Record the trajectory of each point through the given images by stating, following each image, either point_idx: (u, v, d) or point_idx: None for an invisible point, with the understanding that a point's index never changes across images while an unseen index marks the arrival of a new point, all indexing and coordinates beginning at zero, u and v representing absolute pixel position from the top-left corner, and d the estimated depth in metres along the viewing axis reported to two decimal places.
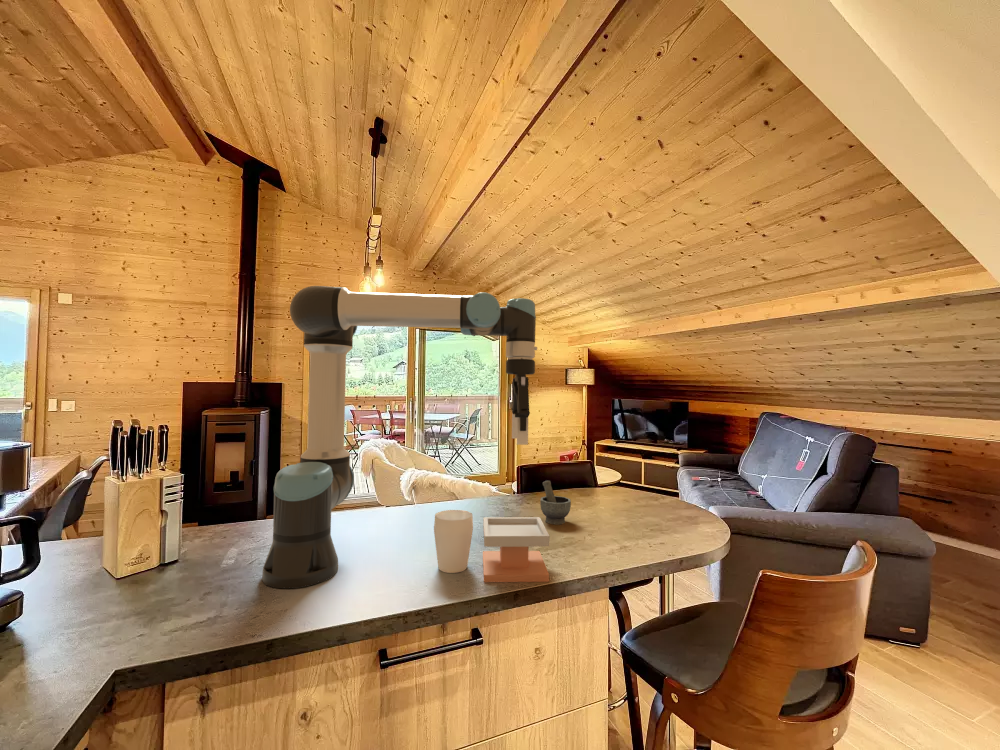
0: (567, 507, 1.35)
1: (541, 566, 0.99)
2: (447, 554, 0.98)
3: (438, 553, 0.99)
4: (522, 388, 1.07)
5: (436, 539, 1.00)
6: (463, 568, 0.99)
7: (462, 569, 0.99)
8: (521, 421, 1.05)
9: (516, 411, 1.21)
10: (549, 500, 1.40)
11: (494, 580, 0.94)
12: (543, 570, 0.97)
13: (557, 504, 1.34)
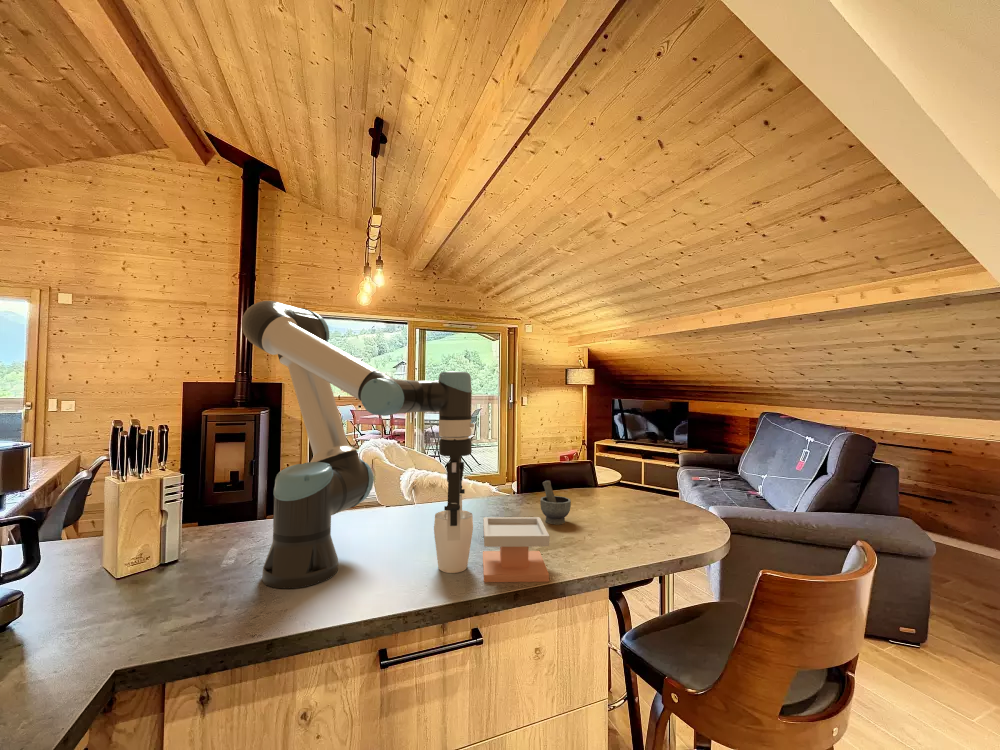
0: (567, 507, 1.35)
1: (541, 566, 0.99)
2: (447, 554, 0.98)
3: (438, 553, 0.99)
4: (452, 476, 0.95)
5: (436, 539, 1.00)
6: (463, 568, 0.99)
7: (462, 569, 0.99)
8: (451, 515, 0.94)
9: None
10: (549, 500, 1.40)
11: (494, 580, 0.94)
12: (543, 570, 0.97)
13: (557, 504, 1.34)
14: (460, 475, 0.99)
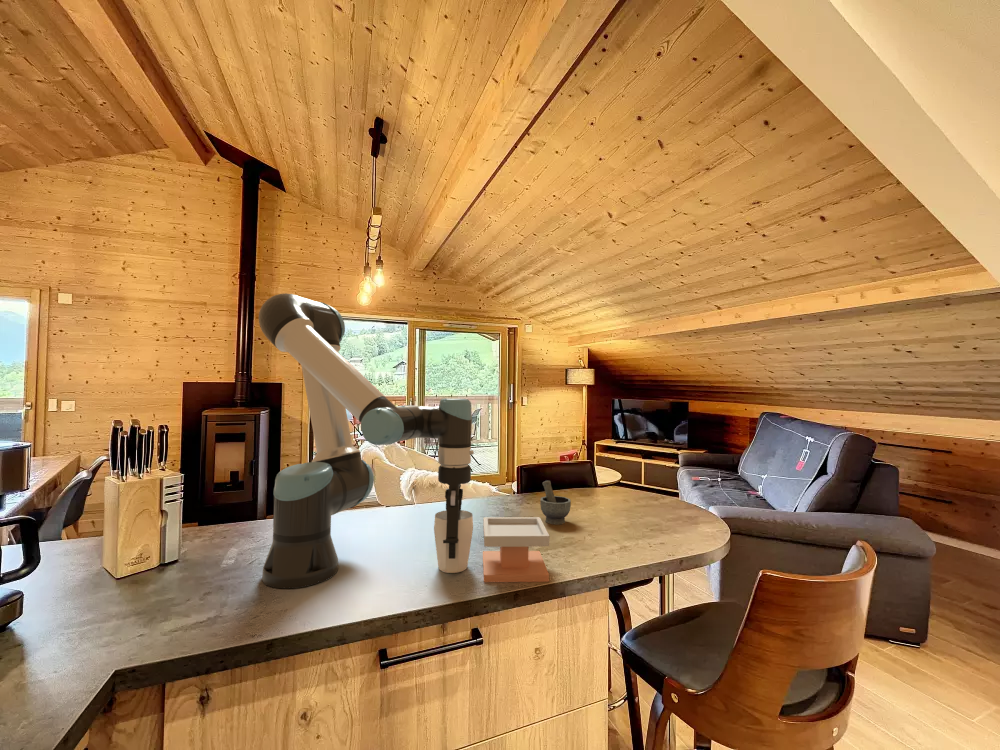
0: (567, 507, 1.35)
1: (541, 566, 0.99)
2: None
3: (438, 553, 0.99)
4: (451, 510, 0.95)
5: (436, 539, 1.00)
6: (463, 568, 0.99)
7: (462, 569, 0.99)
8: (449, 548, 0.96)
9: None
10: (549, 500, 1.40)
11: (494, 580, 0.94)
12: (543, 570, 0.97)
13: (557, 504, 1.34)
14: (459, 505, 0.99)
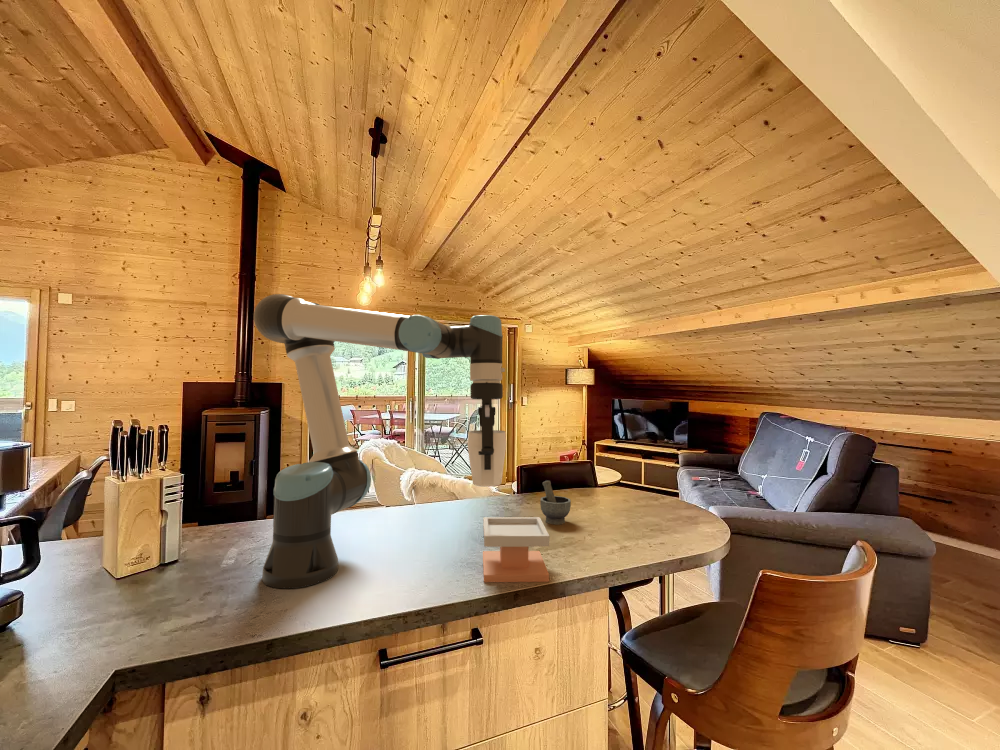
0: (567, 507, 1.35)
1: (541, 566, 0.99)
2: None
3: (473, 468, 1.00)
4: (486, 421, 0.96)
5: (470, 454, 1.00)
6: (498, 482, 1.00)
7: (497, 483, 1.00)
8: (485, 459, 0.96)
9: None
10: (549, 500, 1.40)
11: (494, 580, 0.94)
12: (543, 570, 0.97)
13: (557, 504, 1.34)
14: (492, 419, 1.00)
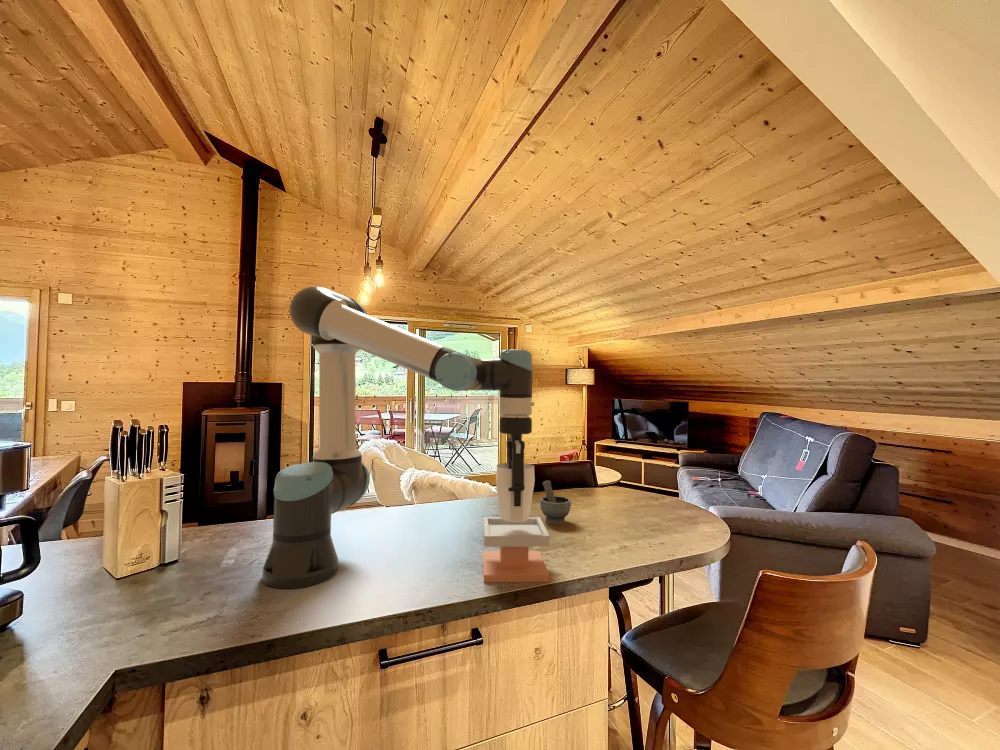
0: (567, 507, 1.35)
1: (541, 566, 0.99)
2: None
3: (501, 503, 1.00)
4: (517, 458, 0.96)
5: (499, 489, 1.00)
6: (526, 518, 1.00)
7: (525, 518, 0.99)
8: (515, 496, 0.96)
9: None
10: (549, 500, 1.40)
11: (494, 580, 0.94)
12: (543, 570, 0.97)
13: (557, 504, 1.34)
14: None
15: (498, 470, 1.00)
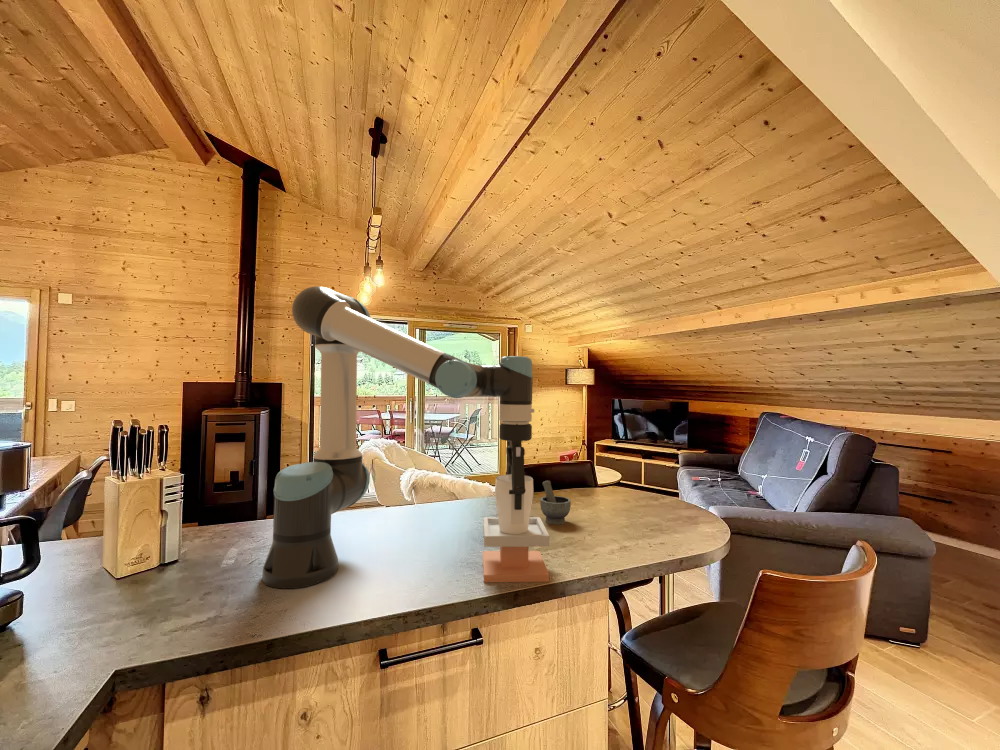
0: (567, 507, 1.35)
1: (541, 566, 0.99)
2: (510, 515, 0.99)
3: (500, 515, 1.01)
4: (517, 460, 0.95)
5: (498, 501, 1.01)
6: (525, 530, 1.01)
7: (524, 531, 1.00)
8: (516, 499, 0.94)
9: None
10: (549, 500, 1.40)
11: (494, 580, 0.94)
12: (543, 570, 0.97)
13: (557, 504, 1.34)
14: None
15: (497, 482, 1.01)
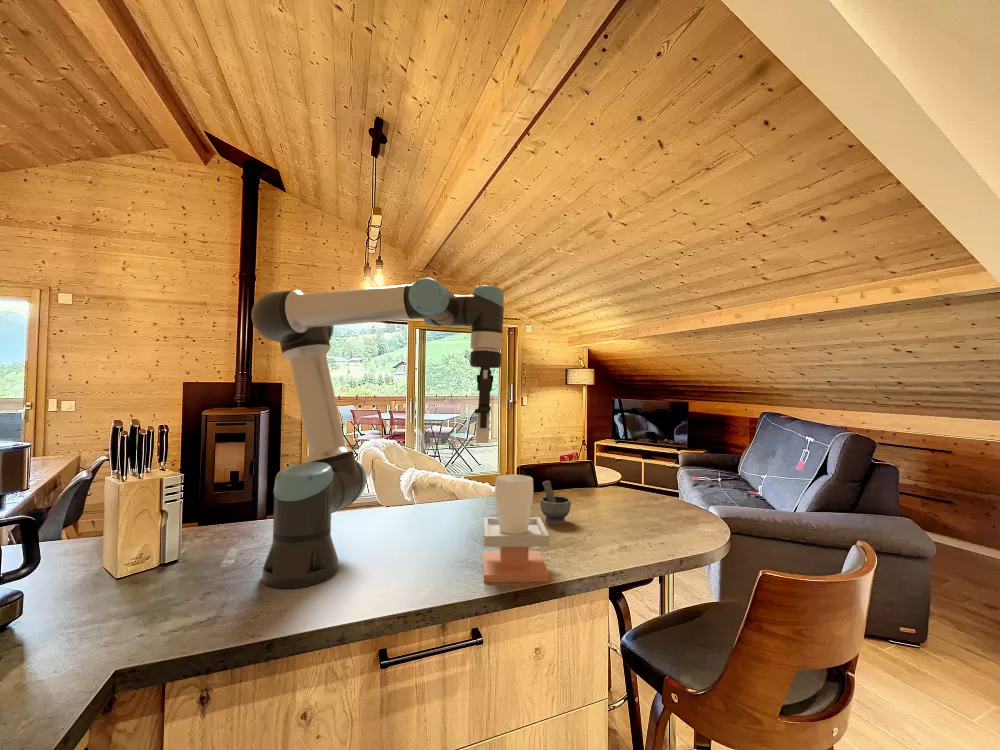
0: (567, 507, 1.35)
1: (541, 566, 0.99)
2: (510, 515, 0.99)
3: (500, 515, 1.01)
4: (484, 382, 0.99)
5: (498, 501, 1.01)
6: (525, 530, 1.01)
7: (524, 531, 1.00)
8: (481, 417, 0.98)
9: None
10: (549, 500, 1.40)
11: (494, 580, 0.94)
12: (543, 570, 0.97)
13: (557, 504, 1.34)
14: (490, 384, 1.03)
15: (497, 482, 1.01)
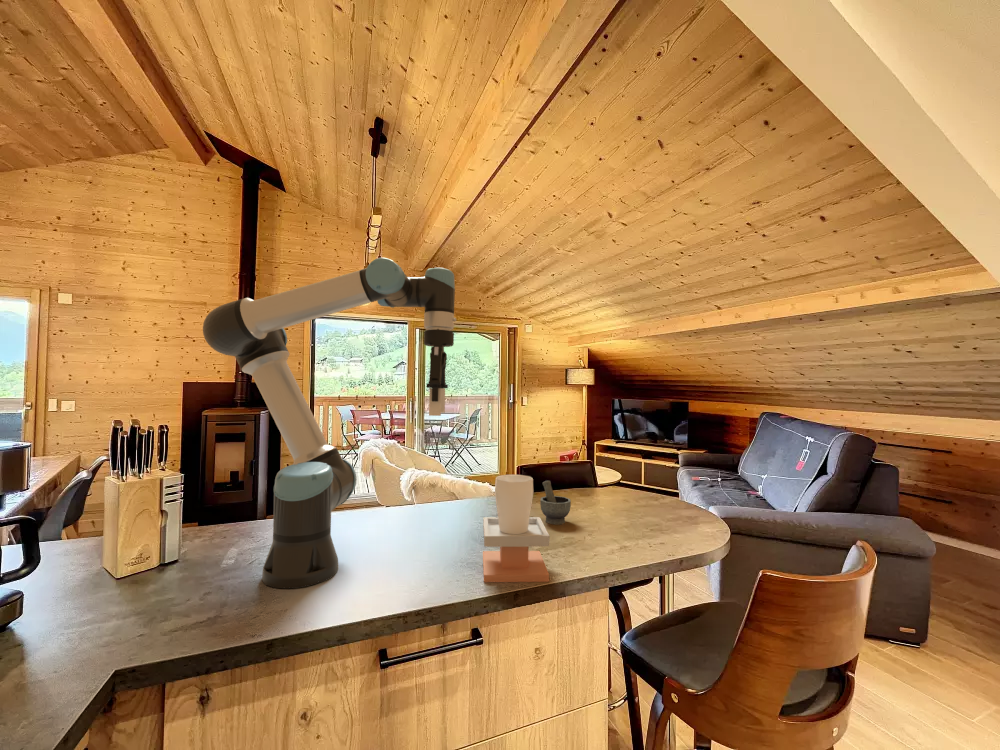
0: (567, 507, 1.35)
1: (541, 566, 0.99)
2: (510, 515, 0.99)
3: (500, 515, 1.01)
4: (435, 358, 1.05)
5: (498, 501, 1.01)
6: (525, 530, 1.01)
7: (524, 531, 1.00)
8: (432, 391, 1.03)
9: None
10: (549, 500, 1.40)
11: (494, 580, 0.94)
12: (543, 570, 0.97)
13: (557, 504, 1.34)
14: (442, 361, 1.09)
15: (497, 482, 1.01)
